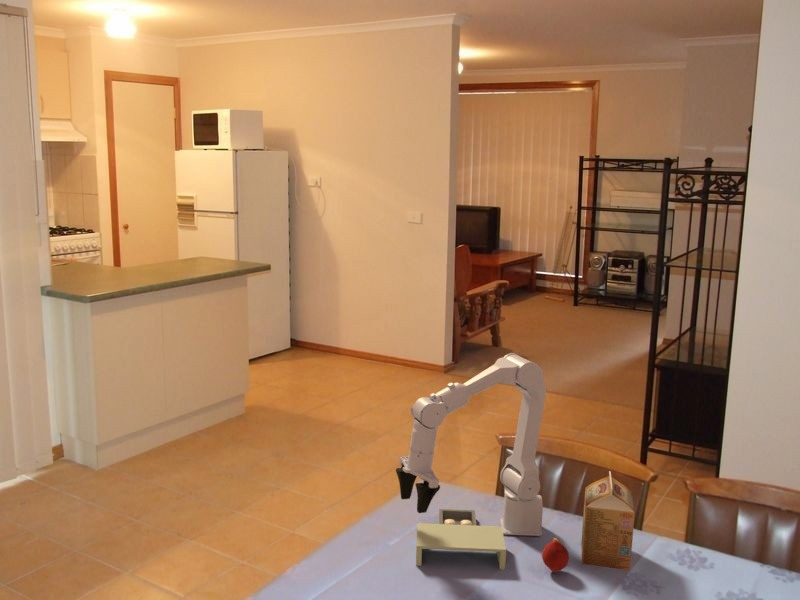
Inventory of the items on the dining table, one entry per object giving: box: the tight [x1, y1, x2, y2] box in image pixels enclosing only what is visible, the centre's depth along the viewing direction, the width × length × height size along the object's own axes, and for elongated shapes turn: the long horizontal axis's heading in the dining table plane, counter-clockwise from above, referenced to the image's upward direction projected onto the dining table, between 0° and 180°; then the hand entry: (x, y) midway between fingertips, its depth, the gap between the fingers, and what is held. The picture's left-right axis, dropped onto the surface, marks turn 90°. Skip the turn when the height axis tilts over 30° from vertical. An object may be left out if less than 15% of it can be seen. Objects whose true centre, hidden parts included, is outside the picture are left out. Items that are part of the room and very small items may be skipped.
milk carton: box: [581, 470, 636, 571], centre depth 177 cm, size 11×11×19 cm
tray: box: [438, 508, 477, 526], centre depth 191 cm, size 9×11×3 cm
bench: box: [415, 522, 507, 570], centre depth 177 cm, size 20×11×5 cm, turn 88°
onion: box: [541, 537, 570, 573], centre depth 171 cm, size 6×6×8 cm
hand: (413, 505), depth 179 cm, fingers open, 7 cm apart
